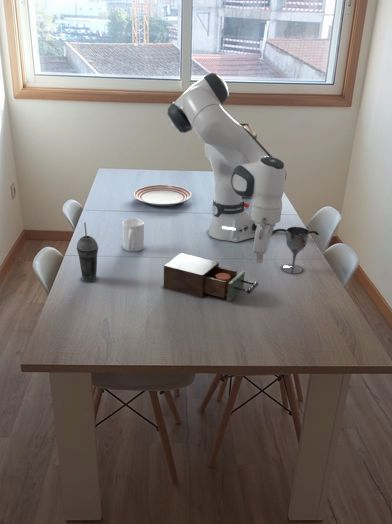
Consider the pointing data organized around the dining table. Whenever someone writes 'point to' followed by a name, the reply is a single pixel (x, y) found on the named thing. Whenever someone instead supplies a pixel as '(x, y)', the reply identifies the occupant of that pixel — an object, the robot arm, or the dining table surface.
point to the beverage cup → (88, 256)
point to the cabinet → (187, 274)
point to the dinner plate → (162, 195)
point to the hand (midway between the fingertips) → (261, 256)
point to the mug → (133, 234)
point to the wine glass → (295, 245)
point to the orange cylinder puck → (223, 278)
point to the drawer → (219, 286)
